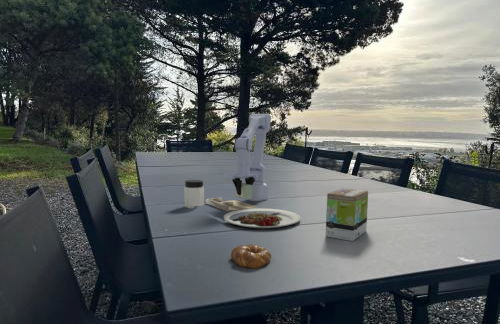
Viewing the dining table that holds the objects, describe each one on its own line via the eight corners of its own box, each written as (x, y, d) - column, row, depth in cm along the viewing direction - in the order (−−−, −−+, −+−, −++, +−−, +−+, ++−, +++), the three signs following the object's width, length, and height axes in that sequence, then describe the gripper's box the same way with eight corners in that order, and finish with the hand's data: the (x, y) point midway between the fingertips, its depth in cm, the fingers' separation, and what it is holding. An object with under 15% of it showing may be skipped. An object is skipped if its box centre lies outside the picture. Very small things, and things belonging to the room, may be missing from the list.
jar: (207, 207, 170) (207, 181, 169) (191, 209, 165) (191, 182, 164) (196, 204, 177) (196, 179, 176) (181, 206, 172) (181, 180, 171)
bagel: (274, 269, 95) (274, 255, 94) (231, 270, 94) (231, 256, 93) (268, 254, 107) (268, 241, 106) (230, 254, 106) (230, 242, 105)
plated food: (260, 209, 167) (260, 202, 166) (316, 221, 145) (316, 213, 145) (207, 220, 146) (207, 212, 145) (263, 236, 124) (263, 226, 124)
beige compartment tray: (235, 201, 183) (235, 195, 182) (258, 209, 166) (258, 202, 166) (206, 205, 174) (206, 199, 174) (226, 213, 157) (226, 206, 157)
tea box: (354, 242, 118) (356, 195, 116) (324, 237, 123) (325, 193, 122) (367, 231, 130) (368, 189, 129) (339, 227, 136) (340, 187, 134)
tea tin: (243, 195, 173) (243, 183, 172) (251, 198, 167) (251, 185, 166) (235, 196, 170) (235, 183, 170) (243, 199, 164) (243, 185, 164)
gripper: (233, 166, 160) (234, 197, 161) (261, 164, 168) (261, 194, 169) (226, 164, 166) (226, 194, 167) (253, 163, 174) (253, 191, 175)
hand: (243, 194), depth 168 cm, fingers closed on tea tin, 4 cm apart
